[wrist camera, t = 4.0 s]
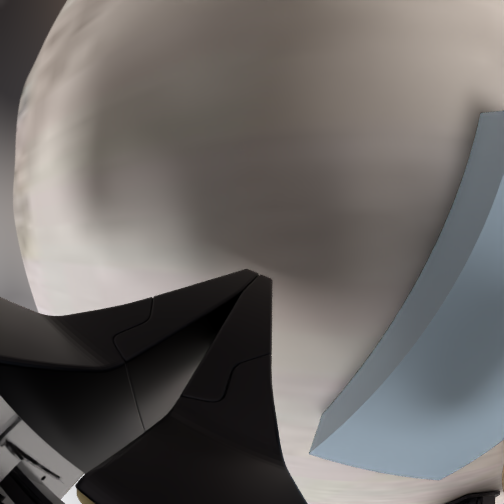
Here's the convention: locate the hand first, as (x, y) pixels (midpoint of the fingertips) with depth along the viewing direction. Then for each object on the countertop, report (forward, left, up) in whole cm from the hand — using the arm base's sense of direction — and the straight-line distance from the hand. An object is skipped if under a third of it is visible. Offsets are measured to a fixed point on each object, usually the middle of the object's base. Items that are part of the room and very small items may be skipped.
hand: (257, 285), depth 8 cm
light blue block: (0, -11, -1) cm, 11 cm away
